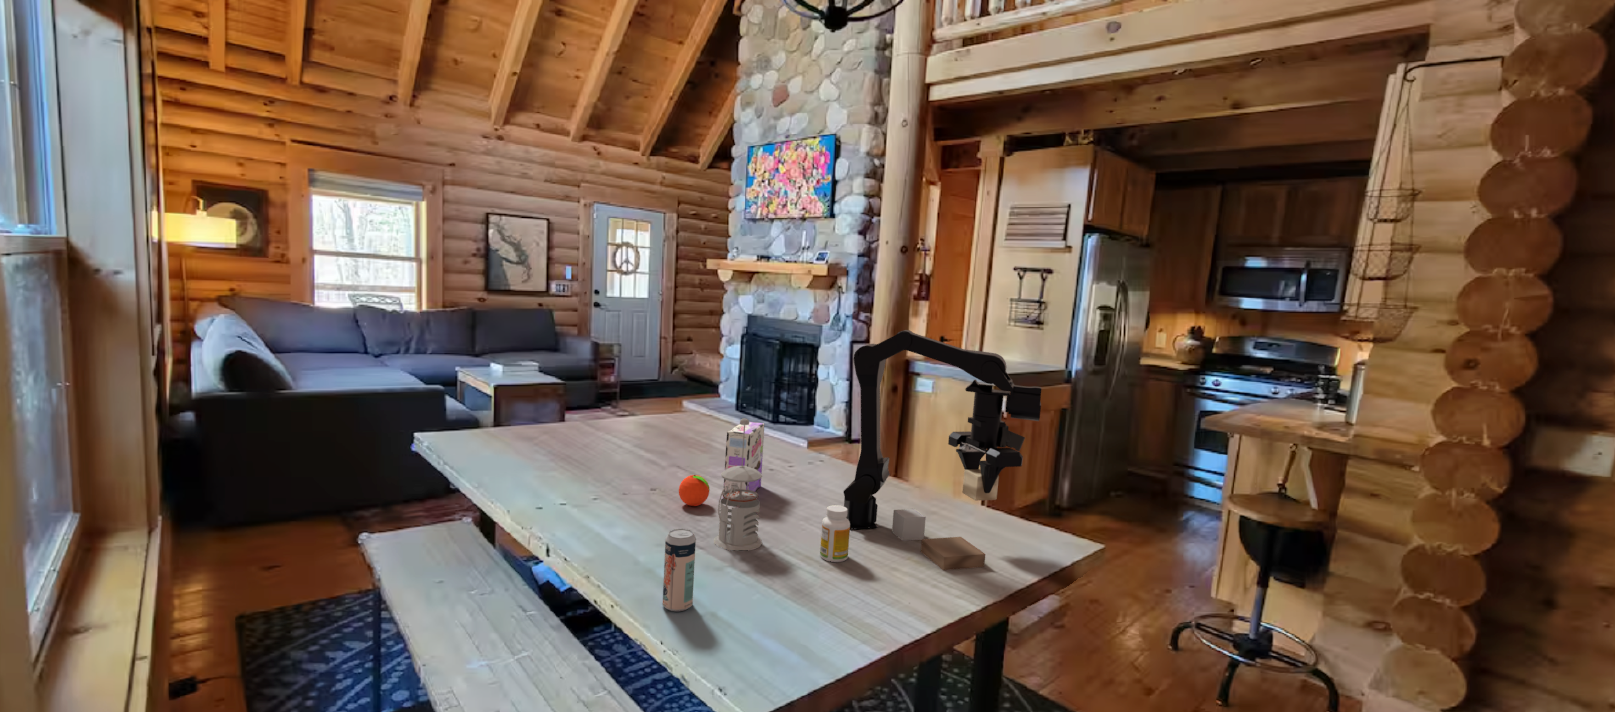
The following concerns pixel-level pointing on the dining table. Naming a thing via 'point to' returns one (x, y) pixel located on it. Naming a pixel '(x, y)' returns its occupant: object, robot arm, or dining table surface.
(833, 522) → the supplement bottle
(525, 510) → the dining table surface
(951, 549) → the walnut block
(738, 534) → the french press
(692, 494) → the clementine
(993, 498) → the maple cube
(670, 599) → the beer can
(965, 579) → the dining table surface
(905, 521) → the grey cube
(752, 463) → the candy box
